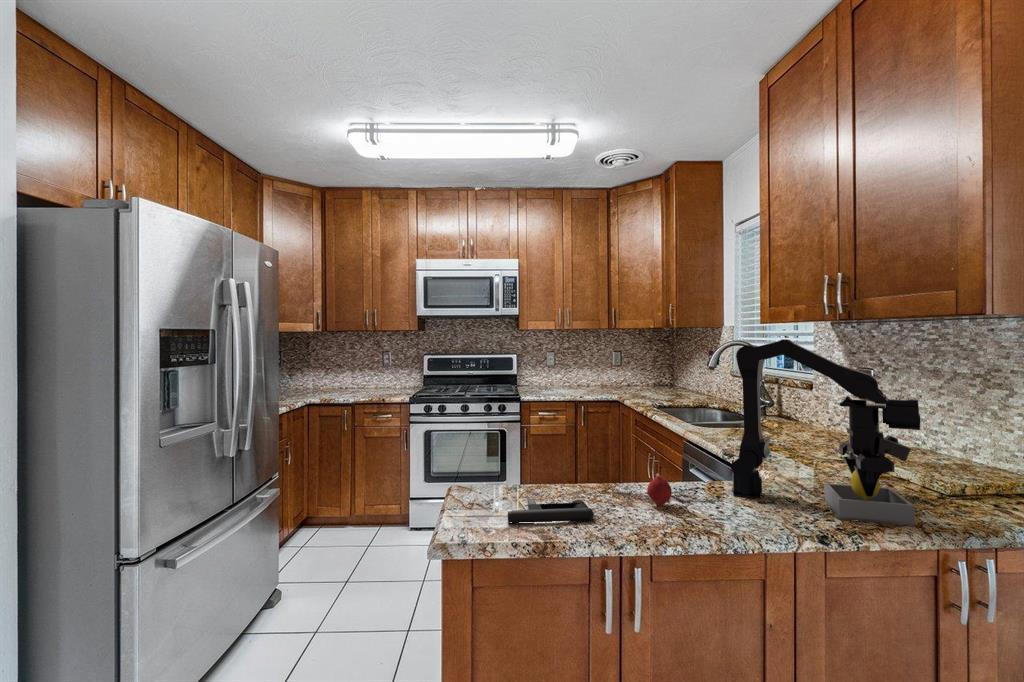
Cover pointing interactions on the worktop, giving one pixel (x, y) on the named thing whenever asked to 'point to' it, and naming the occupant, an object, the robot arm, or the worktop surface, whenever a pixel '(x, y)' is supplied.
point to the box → (869, 505)
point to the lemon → (859, 489)
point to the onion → (659, 490)
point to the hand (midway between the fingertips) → (865, 492)
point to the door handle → (552, 512)
